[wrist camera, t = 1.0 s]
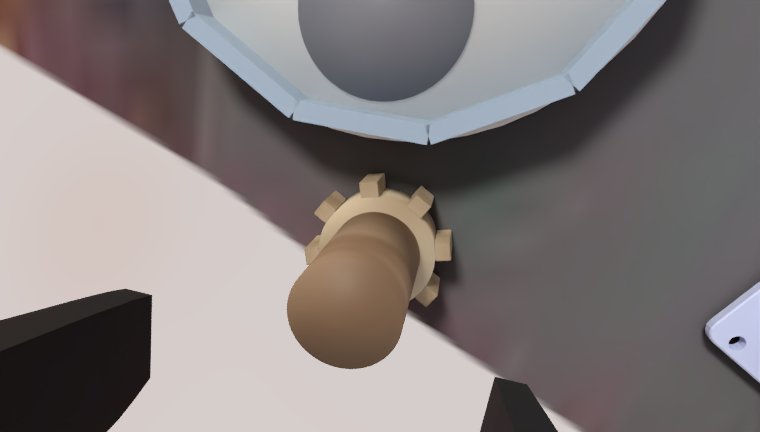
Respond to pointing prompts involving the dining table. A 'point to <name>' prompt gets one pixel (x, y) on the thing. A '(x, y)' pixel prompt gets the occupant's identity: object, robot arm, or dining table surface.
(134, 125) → the dining table surface
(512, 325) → the dining table surface
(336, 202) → the gear
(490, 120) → the carrier plate
